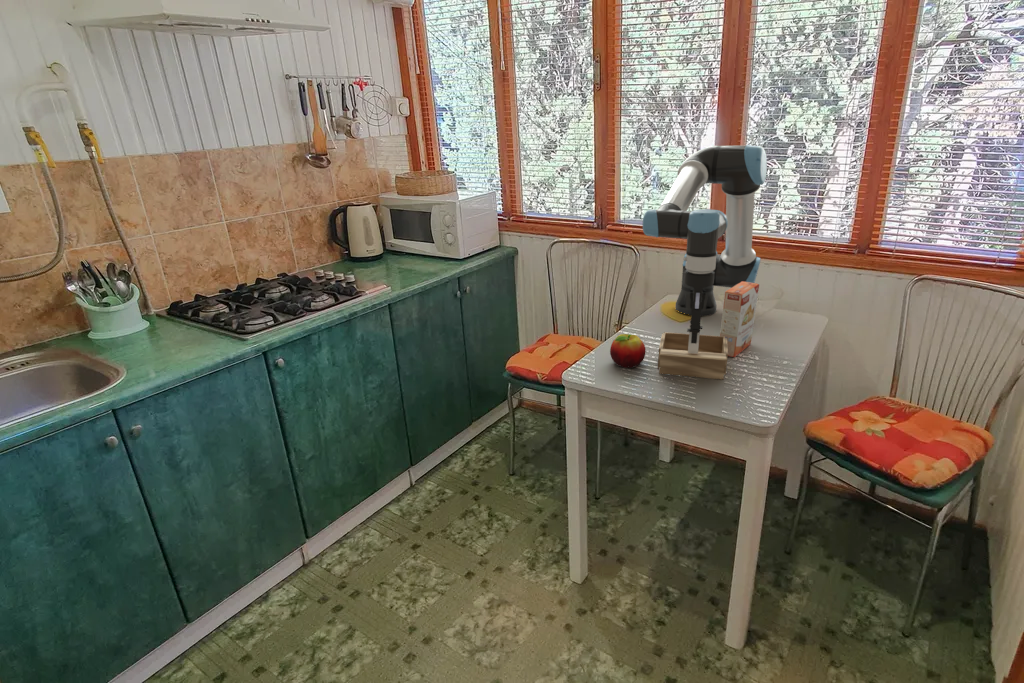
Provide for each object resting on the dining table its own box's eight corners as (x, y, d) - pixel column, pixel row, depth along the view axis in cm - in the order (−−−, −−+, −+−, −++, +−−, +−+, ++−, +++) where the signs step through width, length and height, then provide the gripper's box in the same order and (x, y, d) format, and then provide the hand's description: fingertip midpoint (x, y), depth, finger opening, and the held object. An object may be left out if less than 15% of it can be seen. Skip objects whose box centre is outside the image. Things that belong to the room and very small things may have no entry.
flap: (659, 353, 158) (659, 355, 158) (726, 358, 153) (726, 360, 153) (661, 348, 164) (661, 350, 164) (725, 353, 159) (725, 355, 159)
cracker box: (735, 358, 176) (743, 294, 168) (716, 354, 180) (723, 290, 172) (752, 344, 186) (760, 283, 178) (734, 340, 189) (741, 280, 182)
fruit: (652, 366, 174) (654, 335, 170) (625, 374, 169) (626, 343, 165) (629, 354, 182) (630, 325, 179) (602, 362, 178) (603, 332, 174)
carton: (661, 354, 181) (662, 331, 178) (724, 359, 175) (726, 335, 172) (657, 373, 168) (658, 349, 165) (725, 380, 163) (728, 354, 160)
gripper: (685, 263, 156) (680, 342, 165) (683, 276, 145) (677, 360, 154) (714, 264, 154) (707, 344, 163) (715, 277, 142) (706, 362, 151)
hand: (692, 352), depth 158 cm, fingers closed
